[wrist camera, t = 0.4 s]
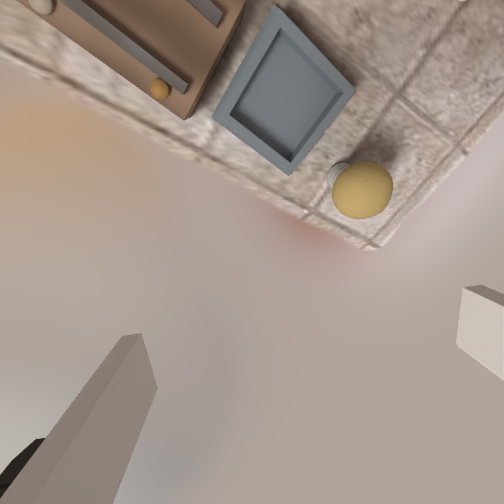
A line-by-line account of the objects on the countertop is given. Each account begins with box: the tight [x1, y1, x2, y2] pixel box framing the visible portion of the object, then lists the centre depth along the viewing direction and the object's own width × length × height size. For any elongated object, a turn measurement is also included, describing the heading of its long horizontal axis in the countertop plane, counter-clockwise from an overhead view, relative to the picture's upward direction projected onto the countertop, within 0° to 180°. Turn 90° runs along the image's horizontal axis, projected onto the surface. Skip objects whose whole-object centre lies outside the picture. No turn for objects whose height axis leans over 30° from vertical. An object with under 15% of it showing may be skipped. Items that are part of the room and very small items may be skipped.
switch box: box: [17, 0, 246, 120], centre depth 22 cm, size 11×16×6 cm
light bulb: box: [327, 162, 393, 219], centre depth 30 cm, size 6×6×10 cm
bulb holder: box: [212, 4, 356, 176], centre depth 28 cm, size 12×12×3 cm
